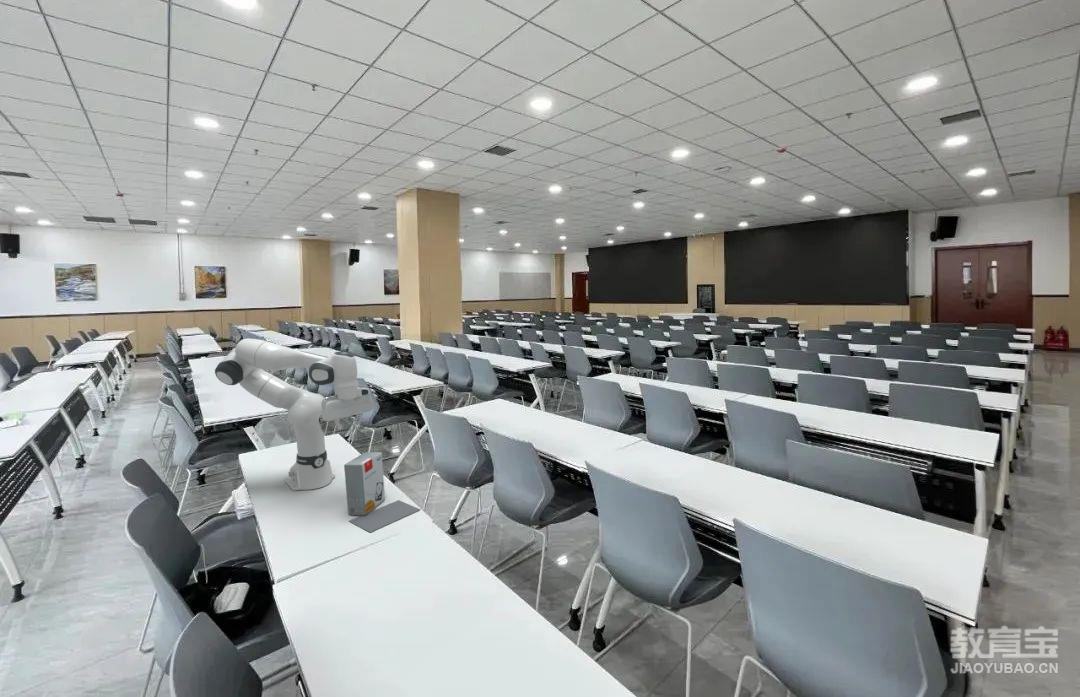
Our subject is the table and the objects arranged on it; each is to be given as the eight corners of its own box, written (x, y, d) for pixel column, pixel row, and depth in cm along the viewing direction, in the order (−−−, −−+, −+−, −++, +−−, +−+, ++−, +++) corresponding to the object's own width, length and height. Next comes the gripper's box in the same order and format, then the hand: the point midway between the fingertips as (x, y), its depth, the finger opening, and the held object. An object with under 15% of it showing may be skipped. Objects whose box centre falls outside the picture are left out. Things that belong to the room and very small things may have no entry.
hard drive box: (365, 516, 191) (360, 465, 188) (347, 515, 192) (342, 464, 190) (386, 498, 206) (381, 451, 203) (369, 498, 207) (364, 451, 205)
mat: (348, 521, 188) (348, 520, 188) (398, 500, 205) (398, 500, 204) (370, 533, 179) (370, 532, 179) (420, 510, 196) (420, 509, 196)
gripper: (325, 399, 188) (328, 434, 190) (373, 389, 204) (376, 422, 206) (317, 396, 192) (320, 431, 194) (365, 387, 208) (367, 419, 210)
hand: (349, 426), depth 200 cm, fingers open, 6 cm apart
